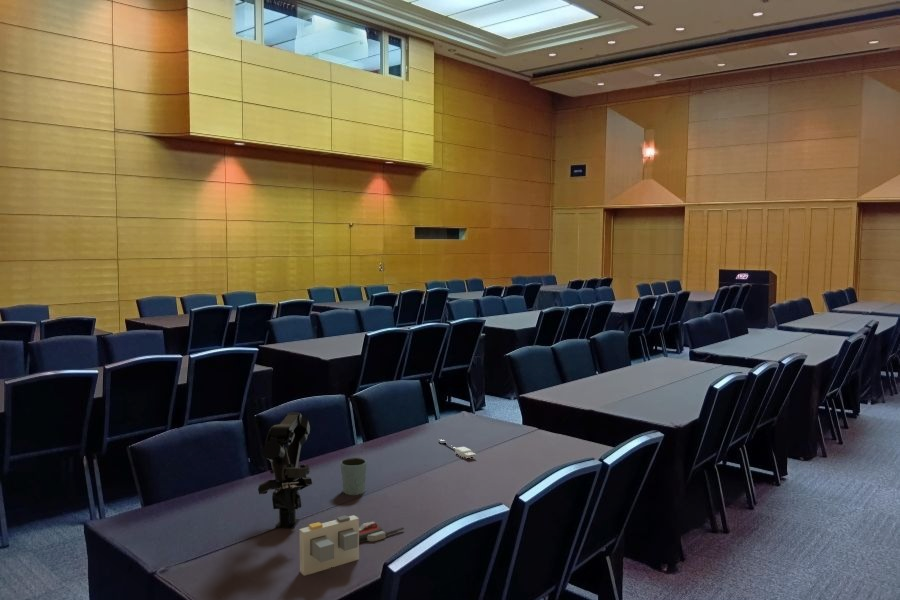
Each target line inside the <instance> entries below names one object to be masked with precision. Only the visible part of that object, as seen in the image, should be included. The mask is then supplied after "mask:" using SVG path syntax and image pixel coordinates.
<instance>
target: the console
mask: <svg viewBox="0 0 900 600" xmlns="http://www.w3.org/2000/svg"><path fill="white" fill-rule="evenodd" d="M359 524H360V518H359V517H358V516H357V515H349V516H348V515H347V514H345V515H341V516H337V517H336V519H334V520H330V521H326V522H322V523H321V522H320V521H318V522H314V523H309V524H308V526H306V527H302V528H299V573H301V575H303V576H304V577H305V576H307V575H308V576H309V575H312V574H315V573H318V572H321V571H325V570H329V569H331V567H332V568H335V567H338V566H342V565H344V564H349V563H351V562H355V561H359V560H360V543H359V527H360V525H359ZM347 529H353V530H354V531H356V532H357V533H358V547H357V548H353V549H350V550H346V551H344V550H343V549H341V548H340V547H339V546H338V532H339V531H343V530H347ZM321 536H325V537H326V538H328V539H329V540H330V541H331V542H333V543H334V559H331V560H327V561H324V562H319V561H318V560H317V559H316V558H315V557H313V556H312V555H311V554H310V539H313V538H317V537H321Z"/></svg>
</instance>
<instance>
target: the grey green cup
mask: <svg viewBox="0 0 900 600" xmlns="http://www.w3.org/2000/svg"><path fill="white" fill-rule="evenodd" d="M340 469H341V470H340V471H341V472H340V473H341V478H342V479H341V480H342V493H343V494H344V493H345V495H347V494H348V496H360V495H363V494H365V492H366V474H367V459H364V458H363V457H362V458H361V457H350V458H349V457H347V458H344V459H343V460H340ZM359 494H360V495H359Z"/></svg>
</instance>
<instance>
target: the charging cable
mask: <svg viewBox="0 0 900 600" xmlns="http://www.w3.org/2000/svg"><path fill="white" fill-rule="evenodd" d="M439 440H440V441H446V440H445V439H443V440H442V439H439ZM454 448H455V449H454ZM452 449H454V450H455V453H456V452H457V453H458V454H460V455H462V456H465V457H466V458H465V459H467V458H468V457H471V456H475V457H477V453H475V452H473V450H472V449H470V448H468V447H466V446H459V447H455V446H454V447H453V448H452Z"/></svg>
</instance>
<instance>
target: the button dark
mask: <svg viewBox="0 0 900 600" xmlns="http://www.w3.org/2000/svg"><path fill="white" fill-rule="evenodd" d="M338 546H339V547H340V548H341V549H343V550H344V551H346V550H350V549H353V548H357V547H358V533H357V532H356V531H354V530H353V529H347V530H343V531H339V532H338Z"/></svg>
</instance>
